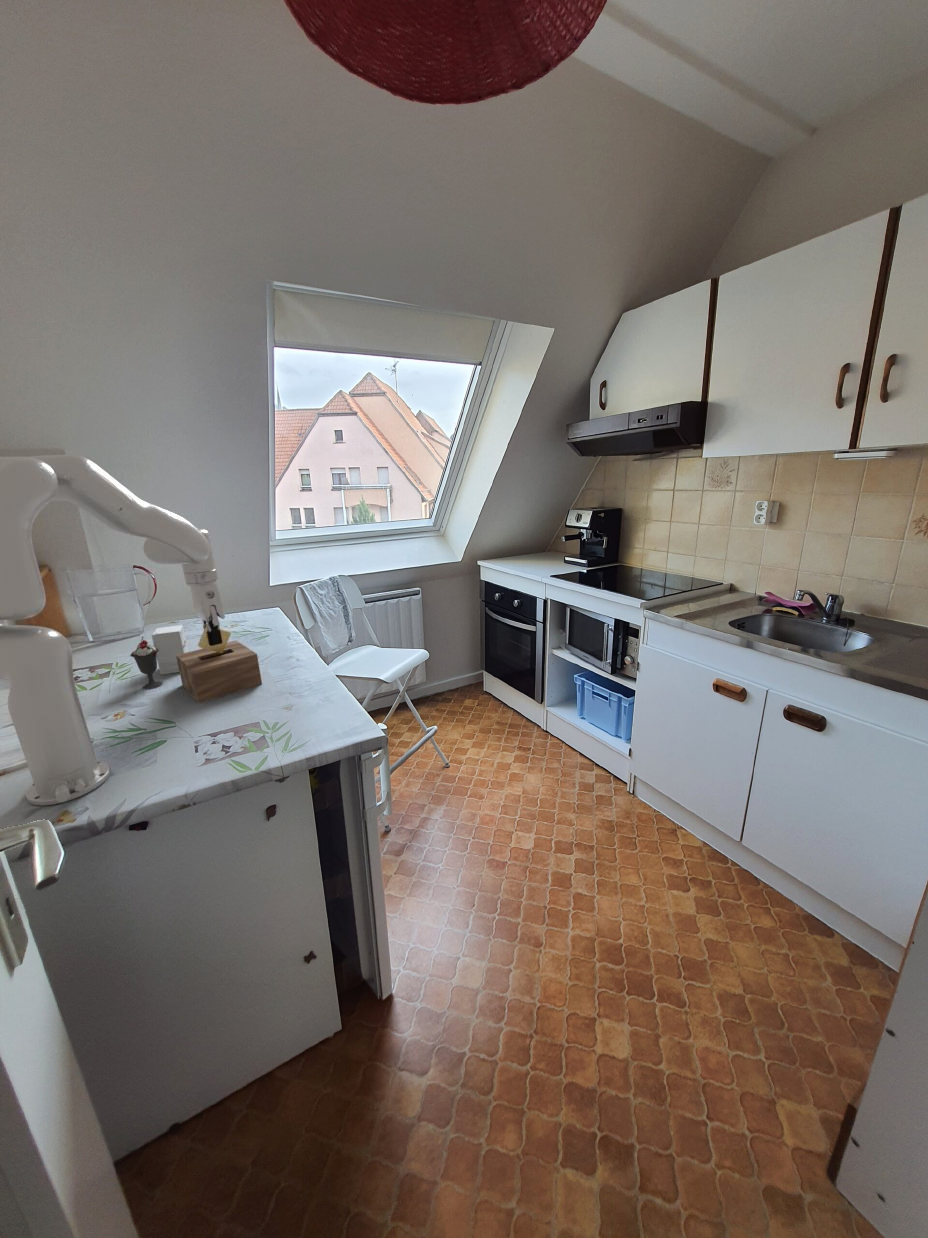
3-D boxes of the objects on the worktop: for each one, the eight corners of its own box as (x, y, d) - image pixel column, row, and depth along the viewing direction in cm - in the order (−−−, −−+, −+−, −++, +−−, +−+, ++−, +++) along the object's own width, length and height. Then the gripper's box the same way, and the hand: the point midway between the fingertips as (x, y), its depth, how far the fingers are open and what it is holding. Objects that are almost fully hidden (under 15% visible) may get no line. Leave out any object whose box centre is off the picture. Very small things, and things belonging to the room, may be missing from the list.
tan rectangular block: (231, 632, 132) (209, 626, 128) (222, 653, 131) (199, 647, 127) (228, 631, 133) (206, 624, 129) (219, 651, 133) (197, 645, 129)
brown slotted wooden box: (262, 683, 133) (256, 653, 131) (199, 703, 123) (192, 671, 120) (241, 668, 145) (236, 640, 142) (182, 685, 134) (175, 655, 132)
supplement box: (188, 671, 144) (179, 631, 140) (159, 675, 141) (150, 634, 138) (191, 662, 151) (183, 624, 147) (164, 666, 148) (155, 627, 144)
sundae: (153, 691, 131) (141, 639, 126) (132, 689, 132) (119, 638, 128) (172, 681, 137) (160, 631, 132) (152, 680, 138) (140, 630, 134)
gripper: (226, 578, 122) (239, 646, 127) (207, 570, 133) (219, 633, 138) (194, 584, 117) (209, 654, 122) (177, 575, 128) (191, 640, 133)
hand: (214, 642), depth 130 cm, fingers closed on tan rectangular block, 1 cm apart
